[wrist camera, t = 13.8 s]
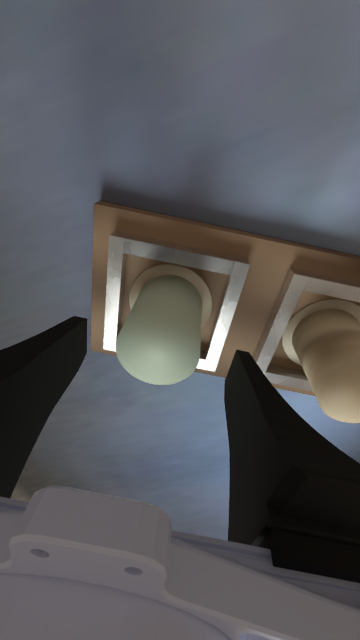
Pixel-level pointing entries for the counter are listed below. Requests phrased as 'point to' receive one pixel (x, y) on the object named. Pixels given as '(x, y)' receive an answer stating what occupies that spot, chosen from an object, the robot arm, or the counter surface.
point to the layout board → (219, 286)
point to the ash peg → (331, 361)
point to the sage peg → (162, 332)
